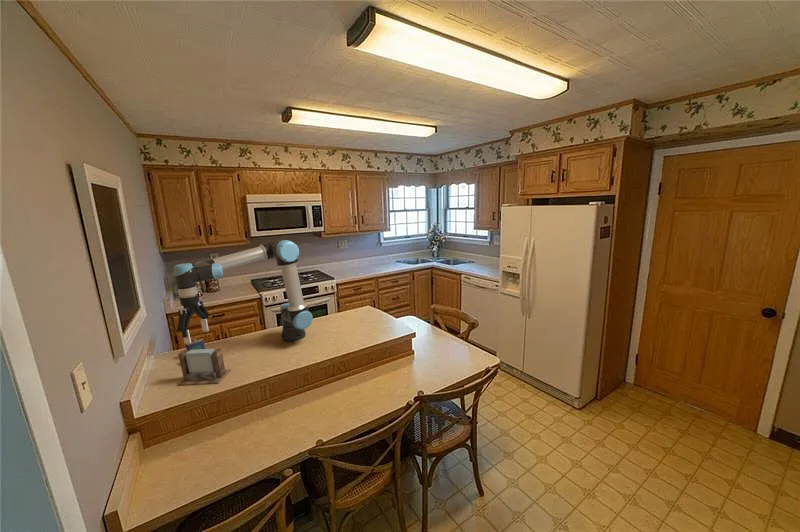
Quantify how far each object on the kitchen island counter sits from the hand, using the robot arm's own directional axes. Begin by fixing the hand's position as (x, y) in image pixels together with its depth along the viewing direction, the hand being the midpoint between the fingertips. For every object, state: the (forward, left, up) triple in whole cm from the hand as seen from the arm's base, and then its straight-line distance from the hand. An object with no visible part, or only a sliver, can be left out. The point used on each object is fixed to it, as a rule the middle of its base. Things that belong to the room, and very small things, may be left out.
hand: (197, 336), depth 152 cm
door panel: (0, 0, -22) cm, 22 cm away
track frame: (0, 0, -22) cm, 23 cm away
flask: (+20, -25, -23) cm, 39 cm away
